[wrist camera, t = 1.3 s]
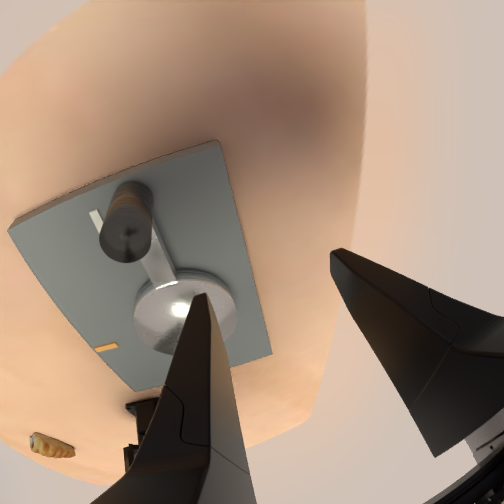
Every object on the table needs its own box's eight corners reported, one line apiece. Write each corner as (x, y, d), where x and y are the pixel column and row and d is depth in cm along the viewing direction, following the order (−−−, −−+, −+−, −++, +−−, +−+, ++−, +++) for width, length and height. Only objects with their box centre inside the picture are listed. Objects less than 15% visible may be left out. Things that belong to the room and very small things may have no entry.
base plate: (268, 343, 31) (273, 355, 30) (134, 380, 30) (134, 393, 28) (216, 139, 18) (221, 146, 17) (14, 220, 16) (5, 232, 15)
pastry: (79, 444, 39) (79, 462, 36) (70, 451, 41) (70, 467, 38) (33, 429, 34) (32, 447, 31) (28, 437, 35) (27, 453, 32)
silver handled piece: (242, 325, 26) (256, 368, 22) (158, 350, 25) (162, 394, 21) (189, 159, 17) (196, 189, 13) (70, 204, 16) (47, 245, 12)
